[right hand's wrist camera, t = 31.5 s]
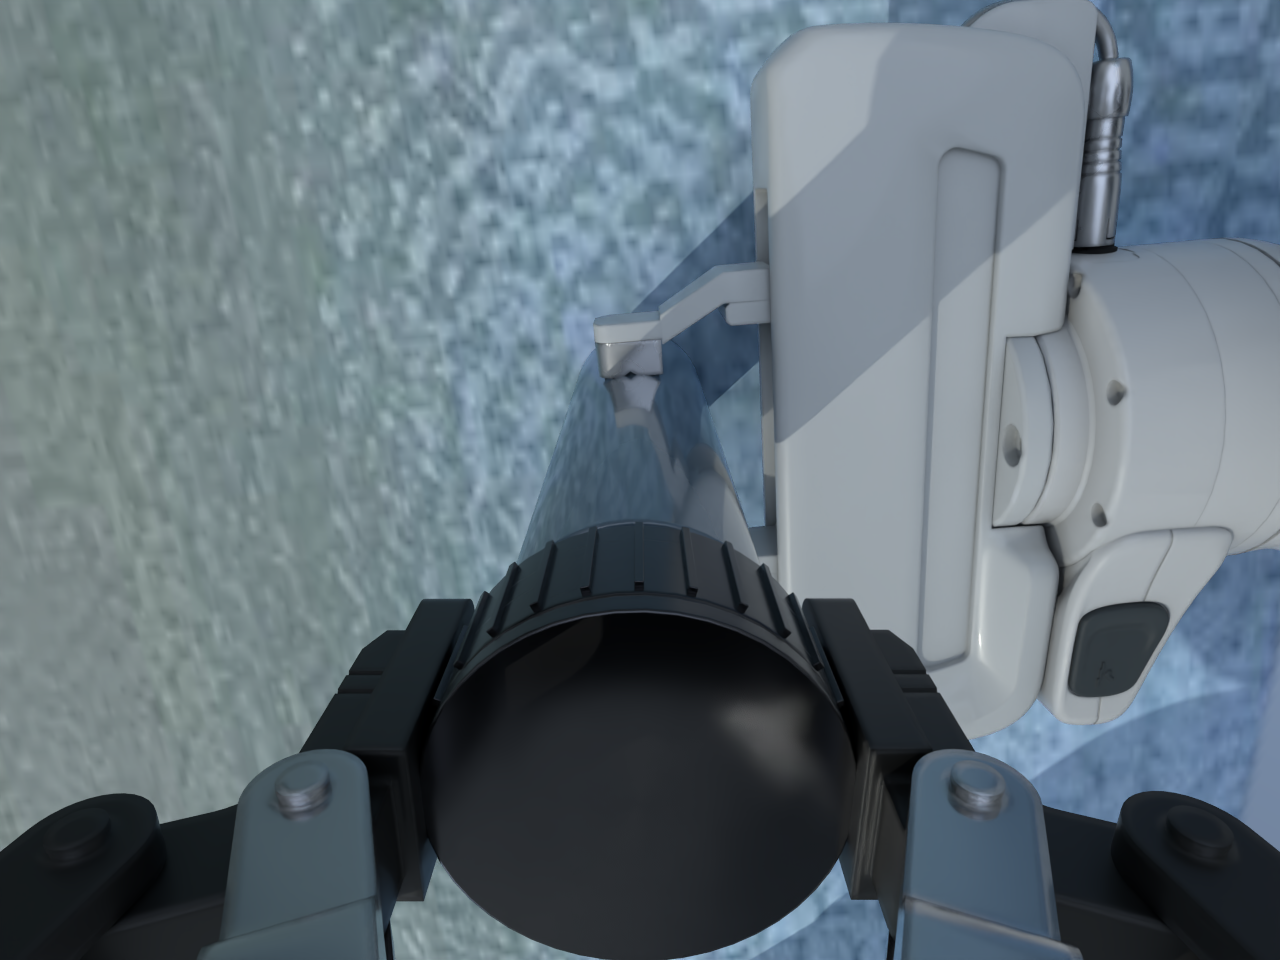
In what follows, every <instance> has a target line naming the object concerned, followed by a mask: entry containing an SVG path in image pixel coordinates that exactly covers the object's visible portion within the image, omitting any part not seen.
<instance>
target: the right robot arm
mask: <svg viewBox="0 0 1280 960" xmlns="http://www.w3.org/2000/svg"><path fill="white" fill-rule="evenodd" d="M474 611H475V609H474V605H473V602H472V600H471V599H423V600H422V601H421V602H420V604H419V606H418V608H417V610H416V612H415V614H414V615H413V617H412V619H411V621H410V623H409V625H408V627H407V628H406V630H387V631H386V632H384V633H383V634H382V635H380V636H379V637H378V638H376V639H375V640H374V641H372V642H371V643H370V644H368V645H367V646H366V647H364V648H363V649H362V650H361V652H360V654H359V655H358V657H357V659H356V660H355V662H354V664H353V665H352V667H351V668H350V670H349V675H346V677H345V678H344V680H343V682H342V683H341V685H340V687H339V688H338V694H335V695H334V696H333V698H332V700H331V701H330V703H329V705H328V706H327V708H326V710H325V711H324V713H323V714H322V716H321V718H320V719H319V721H318V723H317V724H316V726H315V728H314V729H313V731H312V733H311V734H310V736H309V737H308V739H307V741H306V742H305V744H304V746H303V747H302V749H301V751H300V752H299V753H298V754H295V755H292V756H290V757H287V758H284V759H282V760H280V761H278V762H276V763H274V764H273V765H271V766H269V767H268V768H266V769H265V770H263V771H262V772H261V773H260V774H258V775H257V776H256V777H255V778H254V779H253V780H252V781H251V782H250V783H249V784H248V785H247V787H246V788H245V789H244V791H243V793H242V794H241V796H240V798H239V802H238V804H236V805H234V806H231V807H228V808H225V809H222V810H218V811H215V812H211V813H206V814H202V815H198V816H193V817H189V818H185V819H180V820H176V821H172V822H167V823H163V824H159V820H158V816H157V813H156V810H155V808H154V805H153V804H152V803H151V802H150V801H149V800H147V799H145V798H144V797H141V796H138V795H135V794H125V793H122V794H108V795H102V796H97V797H93V798H89V799H86V800H83V801H80V802H77V803H74V804H72V805H70V806H67V807H65V808H63V809H61V810H59V811H57V812H55V813H53V814H51V815H49V816H48V817H46V818H44V819H43V820H41V821H39V822H38V823H37V824H35V825H34V826H32V827H31V828H30V829H28V830H27V831H26V832H24V833H23V834H22V835H21V836H19V837H18V838H17V839H16V840H14V841H13V842H12V843H11V844H9V845H8V846H7V847H6V848H4V849H3V850H2V851H1V852H0V960H395V951H394V942H393V936H392V929H391V923H390V918H391V915H392V912H393V909H394V906H395V903H396V901H424V899H425V895H426V892H427V889H428V885H429V882H430V879H431V876H432V872H433V869H434V866H435V862H436V859H437V855H436V854H435V852H434V850H433V848H432V846H431V844H430V842H429V839H428V836H427V831H426V825H425V818H424V809H423V801H422V793H421V785H420V775H419V764H420V758H421V752H422V747H423V744H424V741H425V739H426V736H427V733H428V730H429V727H430V724H431V722H432V719H433V717H434V714H435V712H436V710H437V707H436V706H433V705H431V703H432V701H433V698H434V696H435V694H436V691H437V689H438V686H439V684H440V681H441V679H442V677H443V674H444V672H445V669H446V667H447V664H448V662H449V660H450V657H451V655H452V652H453V650H454V647H455V645H456V643H457V640H458V638H459V635H460V633H461V631H462V628H463V626H464V625H467V626H469V624H470V621H471V619H472V616H473V614H474ZM802 611H803V613H804V616H805V619H806V621H807V624H808V626H809V627H812V626H814V628H815V631H816V633H817V636H818V638H819V641H820V643H821V646H822V648H823V650H824V653H825V655H826V658H827V660H828V663H829V665H830V668H831V670H832V673H833V675H834V678H835V680H836V683H837V685H838V687H839V690H840V692H841V695H842V697H843V700H844V702H845V705H846V706H845V707H843V708H840V711H841V713H842V716H843V719H844V721H845V724H846V726H847V729H848V731H849V734H850V736H851V740H852V744H853V748H854V752H855V756H856V760H857V767H856V778H855V786H854V795H853V803H852V811H851V820H850V828H849V835H848V839H847V842H846V844H845V846H844V849H843V851H842V853H841V855H840V857H839V861H840V864H841V867H842V871H843V874H844V878H845V881H846V884H847V888H848V891H849V894H850V898H851V900H879V903H880V906H881V909H882V912H883V915H884V918H885V921H886V924H887V927H888V936H887V942H886V951H885V960H1280V852H1279V851H1278V850H1277V849H1275V848H1274V847H1273V846H1272V845H1270V844H1269V843H1268V842H1267V841H1265V840H1264V839H1263V838H1262V837H1260V836H1259V835H1258V834H1257V833H1255V832H1254V831H1253V830H1252V829H1251V828H1249V827H1248V826H1247V825H1245V824H1244V823H1242V822H1241V821H1240V820H1238V819H1237V818H1235V817H1233V816H1232V815H1230V814H1228V813H1227V812H1225V811H1223V810H1221V809H1219V808H1217V807H1215V806H1213V805H1211V804H1208V803H1206V802H1204V801H1201V800H1198V799H1195V798H1192V797H1189V796H1186V795H1181V794H1177V793H1172V792H1164V791H1148V792H1141V793H1138V794H1135V795H1133V796H1131V797H1129V798H1128V799H1127V800H1126V801H1125V802H1124V803H1123V806H1122V808H1121V811H1120V815H1119V818H1118V822H1117V823H1113V822H1109V821H1104V820H1100V819H1096V818H1091V817H1087V816H1083V815H1078V814H1074V813H1070V812H1065V811H1061V810H1057V809H1054V808H1050V807H1047V806H1044V805H1042V802H1041V798H1040V796H1039V795H1038V793H1037V791H1036V789H1035V788H1034V787H1033V785H1032V784H1031V783H1030V782H1029V781H1028V780H1027V779H1026V778H1025V777H1024V776H1023V775H1022V774H1020V773H1019V772H1018V771H1017V770H1015V769H1014V768H1012V767H1011V766H1009V765H1007V764H1006V763H1004V762H1002V761H1000V760H998V759H996V758H993V757H990V756H988V755H985V754H982V753H978V752H975V750H974V749H973V747H972V745H971V744H970V742H969V740H968V739H967V737H966V735H965V734H964V732H963V730H962V729H961V727H960V725H959V724H958V722H957V720H956V719H955V717H954V715H953V714H952V712H951V710H950V709H949V707H948V705H947V704H946V702H945V700H944V699H943V697H942V695H941V694H940V693H937V687H936V685H935V684H934V682H933V680H932V679H931V677H930V675H929V674H926V669H925V667H924V665H923V664H922V662H921V660H920V659H919V657H918V655H917V654H916V652H915V650H914V649H913V648H912V647H911V646H910V645H908V644H907V643H906V642H904V641H903V640H902V639H900V638H899V637H898V636H896V635H895V634H894V633H892V632H891V631H890V630H870V629H869V627H868V625H867V623H866V621H865V619H864V617H863V615H862V613H861V611H860V610H859V608H858V606H857V604H856V602H855V601H854V599H852V598H806V599H804V601H803V604H802Z"/></svg>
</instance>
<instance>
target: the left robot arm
mask: <svg viewBox="0 0 1280 960" xmlns="http://www.w3.org/2000/svg"><path fill="white" fill-rule="evenodd" d="M1095 43H1096V46H1097V49H1098V55H1099V61H1096V62H1093V55H1094V45H1095ZM1132 93H1133V68H1132V62H1131V59H1130V58H1125V57H1124V58H1118V46H1117V41H1116V37H1115V33H1114V31H1113V29H1112V27H1111V24H1110V23H1109V21H1108V20H1107V18H1106V17H1105V16H1104V15H1103V13H1102V12H1101V11H1100V10H1099V9H1098V8H1097V7H1095V5H1094V4H1093V3H1092V2H1090V1H1088V0H1003V1H1000V2H996V3H993V4H991V5H989V6H987V7H985V8H983V9H981V10H979V11H978V12H976V13H975V14H974V15H972V16H971V17H970V18H969V19H967V20H966V21H965V22H964V23H963V24H962V25H961V26H951V25H937V24H918V23H849V24H830V25H820V26H812V27H808V28H805V29H803V30H800V31H798V32H796V33H794V34H792V35H791V36H789V37H788V38H787V39H786V40H785V41H784V42H783V43H782V44H780V45H779V46H778V47H777V48H776V49H775V50H774V51H773V53H772V54H771V55H770V56H769V58H768V59H767V60H766V61H765V63H764V64H763V65H762V67H761V68H760V70H759V71H758V73H757V74H756V75H755V77H754V79H753V82H752V84H751V91H750V105H751V135H752V165H753V195H754V224H755V254H756V262H747V263H736V264H726V265H716V266H714V267H713V268H711V269H710V270H708V271H707V272H706V273H704V274H703V275H701V276H700V277H699V278H697V279H696V280H694V281H693V282H692V283H690V284H689V285H687V286H686V287H685V288H683V289H682V290H680V291H679V292H678V293H676V294H675V295H673V296H672V297H671V298H669V299H668V300H666V301H665V302H664V303H662V304H661V305H659V306H658V309H659V311H649V312H638V313H626V314H615V315H607V316H603V317H599V318H595V321H594V323H593V327H594V338H595V346H596V354H597V362H598V370H599V377H601V378H618V377H622V376H625V375H626V374H627V373H629V372H630V371H631V372H633V373H634V374H636V375H658V374H663V364H662V347H661V340H662V344H665V343H666V342H668V341H669V340H671V339H672V338H673V337H675V336H676V335H678V334H679V333H681V332H682V331H684V330H685V329H687V328H688V327H690V326H691V325H693V324H694V323H696V322H697V321H699V320H700V319H702V318H703V317H705V316H706V315H708V314H709V313H711V312H712V311H714V310H715V309H716V308H718V307H719V311H720V313H721V315H722V316H723V318H724V319H725V321H726V322H727V323H728V324H729V325H731V326H733V325H747V324H758V343H759V373H760V402H761V432H762V462H763V491H764V521H765V526H761V527H751V528H749V531H750V534H751V537H752V540H753V543H754V546H755V549H756V552H757V555H758V558H759V561H760V564H761V565H762V564H763V563H764V564H766V565H767V566H768V567H769V569H770V572H771V575H772V577H773V578H774V579H775V580H777V582H778V583H779V584H780V585H781V586H782V587H783V589H784V590H785V591H786V592H787V593H788V595H789V594H791V593H792V592H793V593H794V594H795V595H796V596H797V598H798V601H799V603H800V606H801V608H802V604H803V601H804V599H806V598H852V599H854V601H855V602H856V604H857V606H858V608H859V610H860V611H861V613H862V615H863V617H864V619H865V621H866V623H867V625H868V627H869V629H870V630H890V631H891V632H892V633H894V634H895V635H896V636H898V637H899V638H900V639H902V640H903V641H904V642H906V643H907V644H908V645H910V646H911V647H912V648H913V649H914V650H915V652H916V654H917V655H918V657H919V659H920V660H921V662H922V664H923V665H924V667H925V669H926V674H929V675H930V677H931V679H932V680H933V682H934V684H935V685H936V687H937V693H940V694H941V695H942V697H943V699H944V700H945V702H946V704H947V705H948V707H949V709H950V710H951V712H952V714H953V715H954V717H955V719H956V720H957V722H958V724H959V725H960V727H961V729H962V730H963V732H964V734H965V735H966V737H967V739H968V740H971V739H975V738H979V737H983V736H986V735H990V734H992V733H995V732H997V731H1000V730H1003V729H1004V728H1006V727H1008V726H1010V725H1012V724H1013V723H1015V722H1016V721H1017V720H1019V719H1020V718H1021V717H1022V716H1023V715H1024V714H1025V713H1026V712H1027V711H1028V710H1029V709H1030V708H1031V706H1032V705H1033V703H1034V702H1035V700H1036V698H1037V699H1038V700H1039V701H1040V702H1041V703H1042V704H1043V705H1044V706H1045V707H1046V709H1047V710H1048V711H1049V712H1050V713H1051V714H1052V715H1053V716H1055V717H1056V718H1057V719H1058V720H1059V721H1061V722H1063V723H1066V724H1071V725H1092V724H1101V723H1106V722H1109V721H1112V720H1115V719H1116V718H1118V717H1119V716H1121V715H1122V714H1123V713H1124V712H1125V711H1126V710H1127V709H1128V707H1129V706H1130V705H1131V703H1132V702H1133V700H1134V698H1135V697H1136V695H1137V693H1138V691H1139V690H1140V688H1141V686H1142V684H1143V682H1144V680H1145V678H1146V676H1147V675H1148V673H1149V671H1150V669H1151V667H1152V666H1153V664H1154V662H1155V660H1156V658H1157V657H1158V655H1159V653H1160V651H1161V650H1162V648H1163V646H1164V645H1165V643H1166V641H1167V640H1168V638H1169V636H1170V635H1171V633H1172V631H1173V630H1174V628H1175V627H1176V625H1177V624H1178V622H1179V621H1180V619H1181V618H1182V616H1183V614H1184V613H1185V612H1186V610H1187V609H1188V607H1189V606H1190V605H1191V603H1192V602H1193V600H1194V599H1195V598H1196V596H1197V595H1198V594H1199V592H1200V591H1201V590H1202V589H1203V588H1204V586H1205V585H1206V584H1207V583H1208V581H1209V580H1210V579H1211V578H1212V576H1213V575H1214V574H1215V573H1216V571H1217V570H1218V569H1219V567H1220V566H1221V564H1222V563H1223V561H1224V559H1225V558H1226V556H1227V555H1236V554H1240V553H1245V552H1249V551H1255V550H1261V549H1275V550H1280V245H1278V244H1274V243H1270V242H1266V241H1260V240H1254V239H1245V238H1213V239H1200V240H1188V241H1178V242H1166V243H1155V244H1144V245H1133V246H1122V247H1116V246H1114V242H1115V234H1116V225H1117V217H1118V208H1119V200H1120V192H1121V176H1122V173H1120V170H1121V162H1120V159H1121V150H1120V148H1121V146H1122V139H1121V136H1122V135H1123V128H1124V122H1125V117H1126V116H1128V115H1129V111H1130V106H1131V101H1132Z"/></svg>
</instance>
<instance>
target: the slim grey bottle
mask: <svg viewBox="0 0 1280 960" xmlns="http://www.w3.org/2000/svg"><path fill="white" fill-rule="evenodd" d="M661 347H662V364H663V374H658V375H636V374H634V373H633V372H631V371H630V372H629V373H627V374H626V375H625V376H622V377H618V378H601V377H599V370H598V362H597V354H596V348H595V349H594V350H593V351H592V352H591V354H590V355H589V356H588V358H587V359H586V361H585V363H584V365H583V367H582V369H581V372H580V374H579V377H578V380H577V383H576V386H575V389H574V392H573V395H572V398H571V402H570V405H569V408H568V411H567V414H566V417H565V420H564V423H563V426H562V429H561V432H560V435H559V438H558V441H557V444H556V447H555V450H554V453H553V456H552V459H551V462H550V465H549V468H548V471H547V474H546V477H545V480H544V483H543V486H542V489H541V492H540V495H539V498H538V501H537V504H536V507H535V510H534V513H533V516H532V519H531V522H530V525H529V528H528V531H527V534H526V537H525V540H524V543H523V546H522V549H521V552H520V555H519V558H518V561H517V565H519V564H520V563H522V562H523V561H524V560H526V559H527V558H529V557H530V556H532V555H534V554H535V553H537V552H539V551H541V550H542V549H544V548H545V545H546V542H549V541H551V540H553V541H554V542H555V543H557V542H559V541H562V540H564V539H567V538H569V537H572V536H575V535H579V534H583V533H586V532H589V527H594V526H597V529H598V530H599V529H605V528H612V527H618V526H635V522H643V526H655V527H666V528H673V529H677V530H681V527H682V526H683V527H687V528H689V529H690V532H691V533H696V534H698V535H701V536H704V537H707V538H710V539H713V540H716V541H718V542H720V543H722V544H724V542H725V541H728V542H730V543H732V545H733V548H734V550H736V551H739V552H740V553H742V554H743V555H745V556H746V557H748V558H749V559H751V560H752V561H754V562H755V563H757V564H758V565H760V566H761V564H760V561H759V558H758V555H757V552H756V549H755V546H754V543H753V540H752V537H751V534H750V531H749V528H748V525H747V522H746V519H745V516H744V513H743V510H742V507H741V504H740V501H739V498H738V495H737V492H736V489H735V486H734V483H733V480H732V477H731V474H730V471H729V468H728V465H727V462H726V459H725V456H724V453H723V450H722V447H721V444H720V441H719V438H718V435H717V432H716V429H715V426H714V423H713V420H712V417H711V414H710V411H709V408H708V405H707V402H706V399H705V396H704V393H703V390H702V387H701V384H700V381H699V378H698V375H697V372H696V369H695V367H694V365H693V363H692V361H691V359H690V358H689V357H688V355H687V354H686V353H685V351H684V350H683V349H682V348H681V347H680V346H678V345H677V344H676V343H674V342H673V341H671V340H669V341H668V342H666V343H665V344H662V340H661Z"/></svg>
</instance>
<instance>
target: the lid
mask: <svg viewBox="0 0 1280 960" xmlns="http://www.w3.org/2000/svg"><path fill="white" fill-rule="evenodd" d="M431 705H433V706H436V707H437V710H436V712H435V714H434V717H433V719H432V722H431V724H430V727H429V730H428V733H427V736H426V739H425V741H424V744H423V747H422V752H421V758H420V764H419V775H420V785H421V793H422V801H423V809H424V818H425V825H426V831H427V836H428V839H429V842H430V844H431V846H432V848H433V850H434V852H435V854H436V855H437V857H438V859H439V861H440V863H441V864H442V866H443V867H444V869H445V870H446V872H447V873H448V874H449V876H450V877H451V879H452V880H453V881H454V882H455V884H456V885H457V886H458V887H459V888H460V889H461V890H462V891H463V892H464V893H465V894H466V895H467V896H468V898H469V899H470V900H472V901H473V902H474V903H475V904H476V905H478V906H479V907H480V908H481V909H482V910H484V911H485V912H486V913H487V914H488V915H490V916H491V917H493V918H494V919H496V920H498V921H499V922H501V923H502V924H504V925H505V926H507V927H508V928H510V929H512V930H514V931H516V932H518V933H520V934H522V935H524V936H526V937H528V938H530V939H532V940H534V941H537V942H539V943H542V944H545V945H547V946H550V947H553V948H555V949H559V950H563V951H566V952H570V953H574V954H577V955H582V956H588V957H593V958H599V959H605V960H669V959H677V958H685V957H689V956H694V955H698V954H703V953H708V952H711V951H714V950H717V949H720V948H723V947H727V946H730V945H733V944H735V943H737V942H740V941H742V940H744V939H746V938H749V937H751V936H753V935H755V934H757V933H759V932H761V931H763V930H764V929H766V928H768V927H770V926H771V925H773V924H775V923H776V922H778V921H779V920H781V919H782V918H784V917H785V916H786V915H788V914H789V913H790V912H792V911H793V910H794V909H796V908H797V907H798V906H799V905H800V904H801V903H802V902H804V901H805V900H806V899H807V898H808V897H809V896H810V895H811V894H812V893H813V892H814V891H815V890H816V889H817V888H818V886H819V885H820V884H821V883H822V881H823V880H824V879H825V878H826V877H827V875H828V874H829V873H830V871H831V870H832V868H833V866H834V865H835V863H836V861H837V860H838V858H839V857H840V855H841V853H842V851H843V849H844V846H845V844H846V842H847V839H848V835H849V828H850V820H851V811H852V803H853V795H854V786H855V778H856V767H857V760H856V756H855V752H854V748H853V744H852V740H851V736H850V734H849V731H848V729H847V726H846V724H845V721H844V719H843V716H842V713H841V711H840V708H843V707H845V706H846V705H845V702H844V700H843V697H842V695H841V692H840V690H839V687H838V685H837V683H836V680H835V678H834V675H833V673H832V670H831V668H830V665H829V663H828V660H827V658H826V655H825V653H824V650H823V648H822V646H821V643H820V641H819V638H818V636H817V633H816V631H815V628H814V626H812V627H809V626H808V624H807V621H806V619H805V616H804V613H803V611H802V608H801V606H800V603H799V601H798V598H797V596H796V595H795V594H794V593H793V592H792V593H791V594H789V595H788V593H787V592H786V591H785V590H784V589H783V587H782V586H781V585H780V584H779V583H778V582H777V580H775V579H774V578H773V577H772V575H771V572H770V569H769V567H768V566H767V565H766V564H764V563H763V564H762V565H761V566H760V565H758V564H757V563H755V562H754V561H752V560H751V559H749V558H748V557H746V556H745V555H743V554H742V553H740V552H739V551H736V550H734V548H733V545H732V543H730V542H728V541H725V542H724V544H722V543H720V542H718V541H716V540H713V539H710V538H707V537H704V536H701V535H698V534H696V533H691V532H690V529H689V528H687V527H683V526H682V527H681V530H677V529H673V528H666V527H655V526H643V522H635V526H618V527H612V528H605V529H599V530H598V529H597V526H594V527H589V532H586V533H583V534H579V535H575V536H572V537H569V538H567V539H564V540H562V541H559V542H557V543H555V542H554V541H553V540H551V541H549V542H546V545H545V548H544V549H542V550H541V551H539V552H537V553H535V554H534V555H532V556H530V557H529V558H527V559H526V560H524V561H523V562H522V563H520V564H519V565H517V564H516V563H515V562H514V563H512V564H511V565H510V566H509V568H508V571H507V574H506V576H505V577H504V578H503V579H502V580H501V581H500V582H499V583H498V584H497V585H496V586H495V587H494V588H493V589H492V590H491V592H490V593H487V592H486V591H484V592H483V594H482V595H481V596H480V599H479V601H478V604H477V606H476V609H475V611H474V614H473V616H472V619H471V621H470V624H469V626H467V625H464V626H463V628H462V631H461V633H460V635H459V638H458V640H457V643H456V645H455V647H454V650H453V652H452V655H451V657H450V660H449V662H448V664H447V667H446V669H445V672H444V674H443V677H442V679H441V681H440V684H439V686H438V689H437V691H436V694H435V696H434V698H433V701H432V703H431Z"/></svg>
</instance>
